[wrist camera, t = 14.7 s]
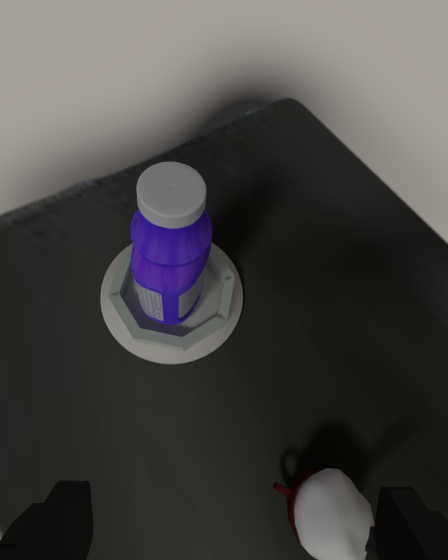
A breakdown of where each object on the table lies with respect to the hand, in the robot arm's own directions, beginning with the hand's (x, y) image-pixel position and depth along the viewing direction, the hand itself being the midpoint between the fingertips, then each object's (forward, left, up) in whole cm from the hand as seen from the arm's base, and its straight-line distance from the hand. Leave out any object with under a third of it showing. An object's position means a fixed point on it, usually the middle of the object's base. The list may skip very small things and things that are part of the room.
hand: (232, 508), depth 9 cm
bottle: (-6, -13, -22) cm, 27 cm away
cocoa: (-6, +10, -23) cm, 26 cm away
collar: (-6, -14, -23) cm, 27 cm away
